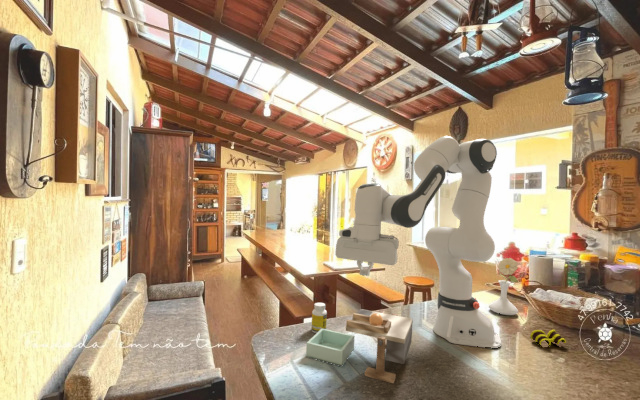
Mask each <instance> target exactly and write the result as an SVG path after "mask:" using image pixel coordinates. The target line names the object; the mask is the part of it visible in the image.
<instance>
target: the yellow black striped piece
mask: <svg viewBox="0 0 640 400" xmlns="http://www.w3.org/2000/svg"><path fill="white" fill-rule="evenodd" d="M532 339H533V340H535V341H536V342H538V343H539V344H540V345H541V342H542V341H544V340H545V341H546V342H547V343H548V345H550V346H551V345H552V343H551V342H555V343H557V344H559V342H560V341H562V342H564V343H566V344H567V340H566V339H565V338H563V337H562V336H561V334H559V333H557V331H556V330H555V329H551V330H549V331H548V333H547V334H546V333H545V331H544V330H541V329H535V330H533V331H531V333H530V340H532ZM536 342H535V343H536ZM539 344H538V345H539ZM540 345H539V346H540Z"/></svg>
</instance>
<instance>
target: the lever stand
mask: <svg viewBox="0 0 640 400" xmlns="http://www.w3.org/2000/svg"><path fill="white" fill-rule="evenodd" d="M390 315H395V316H399V313H393V312H392V313H391V314H390ZM386 341H387V340H386V337H381V336H378V338H377V341H376V344H377V345H376V364H375V365H376V367H375V368H374V367H369V366H367V367H366V369H365V371H364V376H365V377H369V378H372V379H376V380H379V381H384V382H387V383H391V384H395V380H396V378H397V377H396V375H397V374H396V373H392V372H389V371H385V368H386V367H385V361H386Z"/></svg>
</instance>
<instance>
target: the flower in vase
mask: <svg viewBox="0 0 640 400" xmlns="http://www.w3.org/2000/svg"><path fill="white" fill-rule="evenodd" d="M497 266H498V267H497V268H498V273H499V275H500V276H501V277H503V278H504V279H502V280H501V279H500V280H497V282H498V283H499V286H500V297H499V298H498V299H496V300H494V301H492V302H491V303H489V304H488V308H489V309H490V310H491V311H492V312H494V313H496V314H499V313H500V314H501V315H504V316H505V315H506V316H514V315H515V316H516V315H518V313H519V310H518V308H517V307H516V306H515V304H513V303H512V302H511V301H510V300H509V299H508V296H507V295H508V288H509V286H510V285H511V284H512V283H518V279H517V277H516V276H514V275H513V274H515V272H516V271H517V270H518V269H519V267H518V266H519V265H518V262H517V260H515V259H514V258H512V257H509V258H508V257H506V258H505V259H504V258H503V259H502V260H500V261H499V263H498V265H497ZM508 275H509V276H508ZM511 275H512V276H511ZM506 276H508V278H507V277H506ZM509 280H510V281H509Z"/></svg>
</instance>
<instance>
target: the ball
mask: <svg viewBox="0 0 640 400" xmlns="http://www.w3.org/2000/svg"><path fill="white" fill-rule="evenodd" d="M369 322H370V324H372V325H377V326H381V325H382V323H383V318H382V316H381V315H379V314H377V313H374V314H372V315H371V316H370V318H369Z"/></svg>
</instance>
